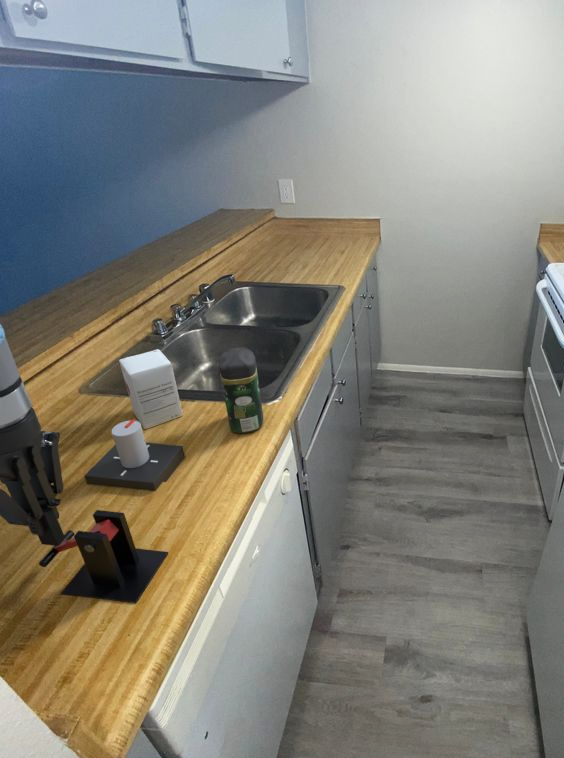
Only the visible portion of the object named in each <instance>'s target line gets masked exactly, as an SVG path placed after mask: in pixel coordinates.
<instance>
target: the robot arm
mask: <svg viewBox="0 0 564 758" xmlns="http://www.w3.org/2000/svg"><path fill="white" fill-rule="evenodd" d="M2 325H3V324H1V323H0V482H1V483H2V484H3V485H5V487H6V489H7V491H8V492H6V491H5V490H4V489H1V488H2V485H1V484H0V517H1V518H2V519H3V520H4V521H5V522H7V524H9V525H12V526H13V525H15V526H21V527H23V526H24V527H28V528H29V530H30V533H31V534H32V535H35V536H36V535H37V537H38V538H39V541H40V543H41V545H45V546H52V547H54V546H59V545H60V544H61V543H62V542H63V540H64V539H65V536H64V535H65V534H64V531H63V529H62V527H61V525H60V522H59V519H60V511H59V510H58V507H59V506H60V505H61V502H62V499H61V498H57V496H58V495H61V494H62V493H63V491H64V481H63V473H62V468H61V467H62V466H61V459H60V451H59V444H60V438H61V437H60V436H61V435H60V432H57V431H49V430H42V425H41V423H40V421H39V418H38V416H37V413H36V411H35V408H34V407H32V406H33V404H32V400H31V398H30V395H29V392H28V391H27V389H26V386H25V383H24V381H23V379H22V377H21V374H20V371H19V369H18V367H17V364H16V360H15V359H14V356H13V353H12V350H11V348H10V345H9V342H8V340H7V337H6V333H5V329H4V327H3V326H2Z"/></svg>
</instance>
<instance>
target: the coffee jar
mask: <svg viewBox="0 0 564 758" xmlns="http://www.w3.org/2000/svg"><path fill="white" fill-rule="evenodd" d="M218 360H219V361H218V362H219V363H218V368H219V375H220V381H221V387H222V388H221V389H222V392H223V398H224V404H225V409H226V414H227V420H228V425H229V429H230V430H231V432H233V433H237V434H247V433H252V432H255V431H258V430H260V429H261V428H262V427H263V425H264V411H263V404H262V399H261V391H260V384H259V383H260V382H259V375H258V368H257V362H256V361H257V360H256V356H255V354H254V352H253V351H252V350H250V349H248V348H246V347H235V348H228V349H227V350H225V351H224V352H223V353H221V355H220V356H219V359H218Z"/></svg>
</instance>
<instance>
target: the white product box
mask: <svg viewBox="0 0 564 758" xmlns="http://www.w3.org/2000/svg"><path fill="white" fill-rule="evenodd" d="M118 362H119V365H120V369H121V373H122V376H123V380H124V383H125V388H126V390H127V393H128V397H129V401H130V404H131V408H132V412H133V414H134V416H135V417H136V419H137V421H138V422H139V423H140V424H141V427H142V429H143V430H149V429H151V428H153V427H156V426H159V425H161V424H164V423H167V422H169V421H172V420H175V419H179V418H180V417H183V410H182V405H181V401H180V395H179V392H178V387H177V383H176V377H175V374H174V373H175V372H174V369H173V365H172V362H171V361H170V360H169V359H168V358H167V357H166V355H165V354H164V353H163V352H162V351H161V350H160V349H159V348H158V349H157V348H156V349H154V350H151V351H147V352H143V353H139V354H136V355H131V356H127V357H124V358H121V359H119V360H118Z"/></svg>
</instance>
